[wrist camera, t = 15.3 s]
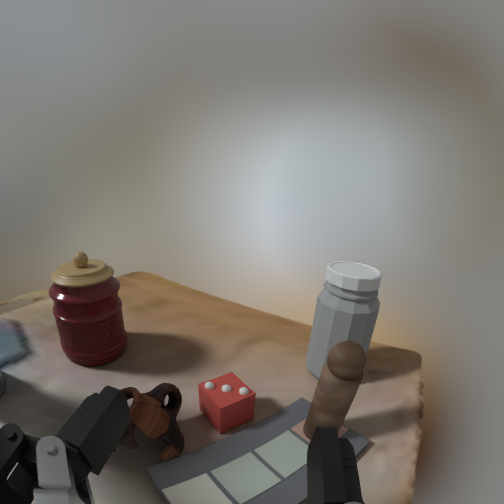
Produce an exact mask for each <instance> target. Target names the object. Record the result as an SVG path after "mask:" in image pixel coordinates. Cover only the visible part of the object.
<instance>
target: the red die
mask: <svg viewBox="0 0 504 504" xmlns="http://www.w3.org/2000/svg"><path fill="white" fill-rule="evenodd" d="M198 388H199V402H200V411H201V412H202V413H203V414H204V416H205V417H206V418H207V419H208V420H209V421H210V423H211V424H212V425H213V426H214V427H215V428H216V429H217V431H218V432H219V433H220V434H222V433H224V432H226V431H228V430H231V429H233V428H235V427H237V426H239V425H241V424H243V423H246V422H248V421H250V420H252V419H253V413H254V404H255V395H256V393H255V392H254V391H253V390H251V389H250V388H249V387H248V386H247V385H246V384H244V383H243V382H242V381H241V380H240V379H239V378H238V377H237V376H236V375H234V374H233V373H232V372H231V373H228V374H226V375H223V376H220V377H217V378H215V379H212V380H209V381H206V382H203V383H200V384H198Z"/></svg>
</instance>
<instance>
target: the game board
mask: <svg viewBox="0 0 504 504" xmlns="http://www.w3.org/2000/svg"><path fill="white" fill-rule="evenodd" d="M310 406H311V403H310V402H308V401H307V400H305V399H304V398H300V399H299V400H297V401H295V402H294V403H292V404H290V405H289V406H287V407H285V408H283V409H282V410H280V411H278V412H276V413H275V414H273V415H271V416H269V417H267V418H265V419H263V420H262V421H260V422H258V423H256V424H254V425H252V426H250V427H248V428H246V429H244V430H242V431H240V432H238V433H235V434H233V435H231V436H229V437H227V438H225V439H222V440H220V441H218V442H215V443H213V444H211V445H208V446H206V447H204V448H201V449H199V450H196V451H193V452H191V453H188V454H186V455H183V456H180V457H177V458H174V459H172V460H169V461H166V462H163V463H160V464H156V465H153V466H150V467H146V469H147V472H148V473H149V475H150V477H151V478H152V480H153V482H154V483H155V485H156V487H157V488H158V490H159V492H160V493H161V495H162V496H163V498H164V499H165V501H166V502H167V504H301V503H302V502H303V501H305V500H306V499H307V450H308V446H309V443H310V441H311V440H310V439H308V438H307V437H306V436H305V434H304V432H303V427H304V424H305V421H306V418H307V415H308V412H309V409H310ZM338 438H348V440H349V441H350V443H351V444H352V445H353V447H354V452H355V457H356V456H357V455H358V454H359V453H360V452H361V451H362V450H363V449H364V448H365V447H366V446H367V445H368V443H369V442H370V441H369V440H367V439H366V438H364V437H362V436H361V435H359V434H357V433H356V432H354V431H352V430H351V429H349V428H348V427H346V426H344V425H343V424H342V425H341V427H340V429H339V431H338Z"/></svg>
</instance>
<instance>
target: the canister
mask: <svg viewBox="0 0 504 504" xmlns="http://www.w3.org/2000/svg"><path fill="white" fill-rule="evenodd" d="M113 274H114V270H113V268H112V267H110V266H108V265H106V264H105V263H104V262H102V261H99V260H94V259H88V257H87V255H86V254H85V253H83V252H78V253H76V254H75V255H74V258H73V261H70V262H67V263H64V264H63V265H61V266H60V267H59V268H58V270H56V271H55V272H54V273H53V274H52V276H51V280H52V282H53V283H54V284H53V285H52V286H51V288H50V289H49V295H50V297H51V298H52V299H53V301H54V306H53V314H54V316H55V319H56V324H57V328H58V332H59V335H60V342H61V345H62V349H63V351H64V352H65V354H66V356H67V357H68V358H69V359H70V360H71V361H73V362H75V363H77V364H80V365H85V366H97V365H103V364H106V363H109V362H111V361H114V360H115V359H117V358H118V357H120V356H121V355H122V354H123V352H124V351H125V349H126V342H127V336H126V331H125V329H124V322H123V315H122V301H121V299H120V298H119V297H118V290H119V288H120V283H119V281H118V280H117V279H116V278H114V277H112V276H113Z"/></svg>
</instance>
